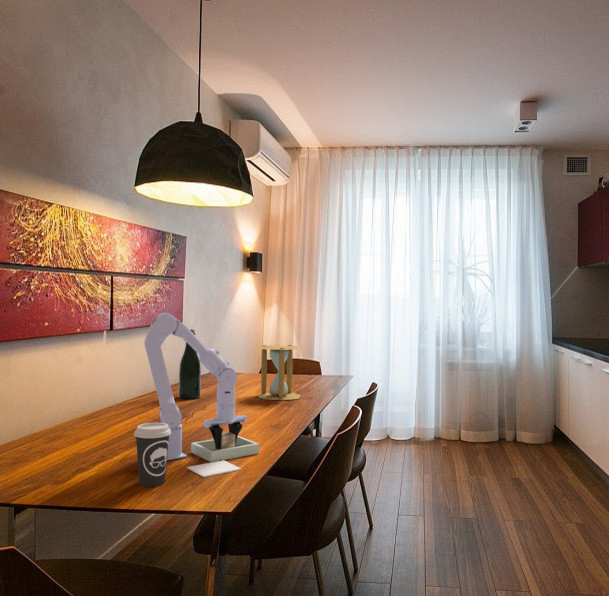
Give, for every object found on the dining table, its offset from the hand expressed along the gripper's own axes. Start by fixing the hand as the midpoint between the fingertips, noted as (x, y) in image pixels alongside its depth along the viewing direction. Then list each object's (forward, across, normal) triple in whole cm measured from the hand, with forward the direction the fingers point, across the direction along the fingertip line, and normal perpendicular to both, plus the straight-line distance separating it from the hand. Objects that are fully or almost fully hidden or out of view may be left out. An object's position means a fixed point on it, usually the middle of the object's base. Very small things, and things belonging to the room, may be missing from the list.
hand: (225, 447), depth 180 cm
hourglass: (+2, +72, +73) cm, 103 cm away
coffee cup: (+2, -30, -14) cm, 33 cm away
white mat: (+2, -11, -13) cm, 17 cm away
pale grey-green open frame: (+2, 0, 0) cm, 2 cm away
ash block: (+2, 0, 0) cm, 2 cm away
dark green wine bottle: (+2, +34, +94) cm, 100 cm away
